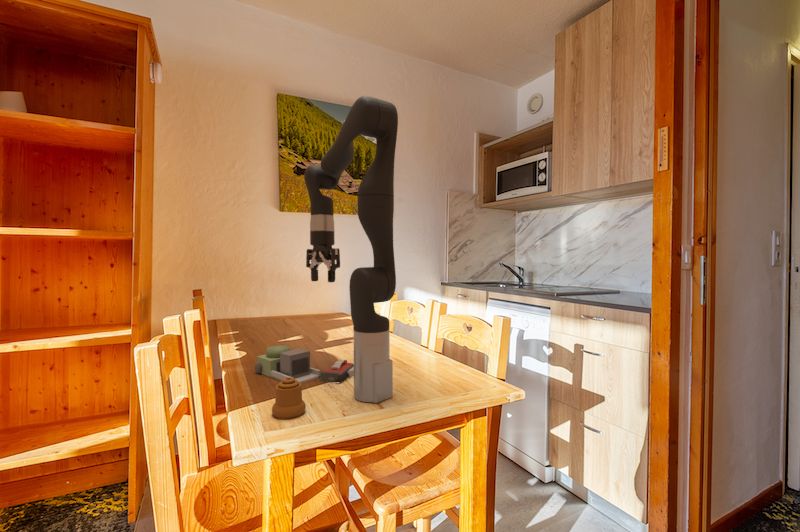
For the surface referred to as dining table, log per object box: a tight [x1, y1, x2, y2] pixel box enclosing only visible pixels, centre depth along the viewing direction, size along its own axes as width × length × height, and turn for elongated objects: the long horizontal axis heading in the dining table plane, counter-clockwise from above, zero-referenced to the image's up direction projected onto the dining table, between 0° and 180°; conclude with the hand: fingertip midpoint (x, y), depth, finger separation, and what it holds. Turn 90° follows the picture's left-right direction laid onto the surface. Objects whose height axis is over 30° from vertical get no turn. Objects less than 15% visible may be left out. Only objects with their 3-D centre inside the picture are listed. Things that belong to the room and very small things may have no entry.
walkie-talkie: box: [320, 359, 354, 383], centre depth 119 cm, size 9×4×20 cm
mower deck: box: [254, 344, 322, 384], centre depth 118 cm, size 19×12×7 cm, turn 48°
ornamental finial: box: [271, 377, 307, 420], centre depth 89 cm, size 8×8×8 cm
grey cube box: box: [280, 348, 311, 379], centre depth 115 cm, size 5×7×7 cm
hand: (322, 281), depth 122 cm, fingers open, 8 cm apart
